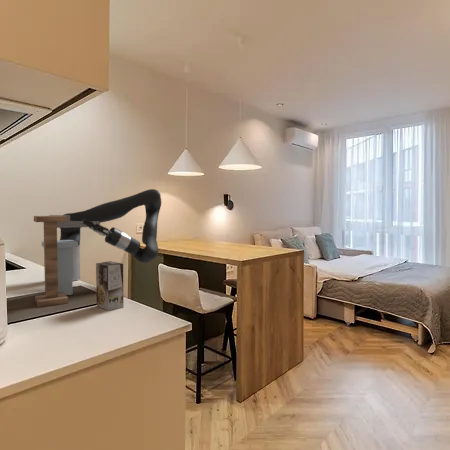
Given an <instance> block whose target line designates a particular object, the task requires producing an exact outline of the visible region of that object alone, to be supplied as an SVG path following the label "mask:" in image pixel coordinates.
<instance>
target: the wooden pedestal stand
mask: <svg viewBox="0 0 450 450" xmlns="http://www.w3.org/2000/svg"><path fill="white" fill-rule="evenodd" d="M33 222H36V223H43V241H44V247H43V253H44V254H43V255H44V256H43V258H44V260H43V261H44V294H39V295H35V303H36V305H37V308H41V307H42V308H43V307H50V306H56V305H63V304H69V297H68V295H65V294H64V293H58V260H57V240H58V228H57V222H67V216H49V215H34V216H33Z"/></svg>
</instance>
